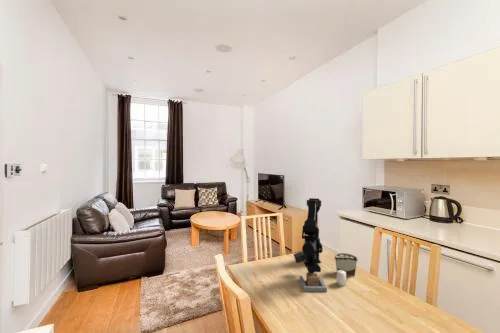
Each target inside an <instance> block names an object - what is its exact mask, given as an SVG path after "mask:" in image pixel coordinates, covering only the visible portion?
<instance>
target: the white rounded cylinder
mask: <svg viewBox="0 0 500 333" xmlns="http://www.w3.org/2000/svg"><path fill="white" fill-rule="evenodd" d="M336 284H337V285H338V286H340V287H346V285H347V275H346V272H345V271H342V270H338V271H337V270H336Z"/></svg>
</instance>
